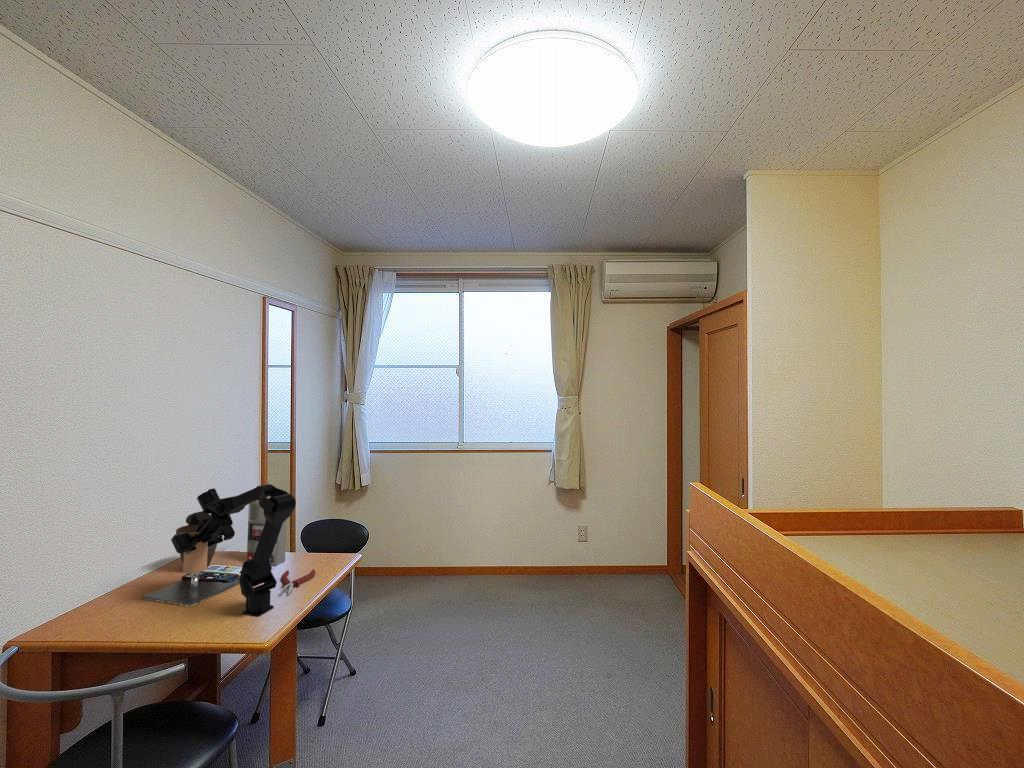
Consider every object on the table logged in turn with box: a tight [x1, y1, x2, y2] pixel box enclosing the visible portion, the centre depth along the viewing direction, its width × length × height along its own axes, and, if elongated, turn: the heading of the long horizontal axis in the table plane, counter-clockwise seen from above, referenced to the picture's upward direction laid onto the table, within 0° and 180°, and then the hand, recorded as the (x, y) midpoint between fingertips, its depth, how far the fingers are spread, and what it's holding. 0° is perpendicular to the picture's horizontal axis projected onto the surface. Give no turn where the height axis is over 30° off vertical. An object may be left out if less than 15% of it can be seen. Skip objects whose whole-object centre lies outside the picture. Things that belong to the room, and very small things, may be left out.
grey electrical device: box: [244, 500, 287, 566], centre depth 186 cm, size 14×6×25 cm, turn 82°
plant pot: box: [175, 524, 218, 568], centre depth 178 cm, size 15×15×16 cm
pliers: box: [278, 569, 316, 597], centre depth 164 cm, size 12×20×3 cm, turn 10°
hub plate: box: [142, 573, 240, 606], centre depth 158 cm, size 20×20×6 cm
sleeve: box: [182, 542, 208, 575], centre depth 158 cm, size 5×5×11 cm
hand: (193, 551), depth 158 cm, fingers closed on sleeve, 5 cm apart
